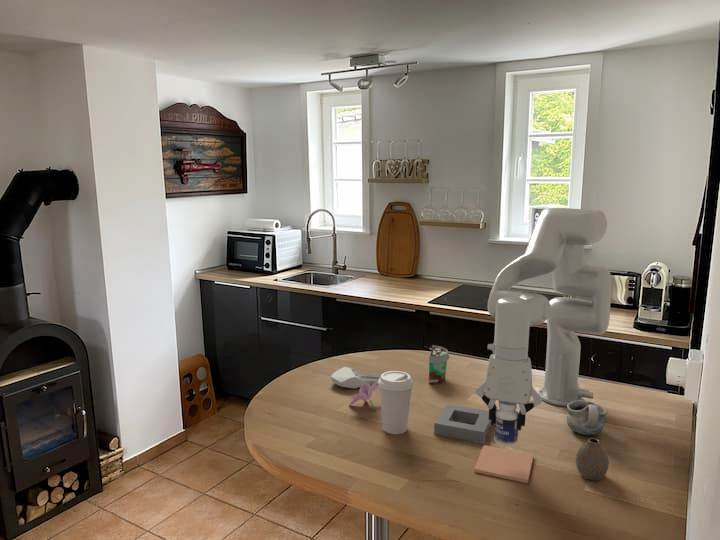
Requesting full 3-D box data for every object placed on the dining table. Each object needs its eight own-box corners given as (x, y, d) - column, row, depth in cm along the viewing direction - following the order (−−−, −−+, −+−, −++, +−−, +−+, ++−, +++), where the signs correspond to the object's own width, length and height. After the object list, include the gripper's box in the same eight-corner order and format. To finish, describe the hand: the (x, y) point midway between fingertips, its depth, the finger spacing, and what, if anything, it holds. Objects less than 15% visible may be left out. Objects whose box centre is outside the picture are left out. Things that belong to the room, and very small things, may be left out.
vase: (569, 468, 128) (572, 433, 127) (597, 467, 129) (600, 432, 127) (583, 485, 121) (586, 448, 120) (613, 483, 122) (616, 447, 120)
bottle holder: (491, 421, 152) (492, 411, 151) (483, 443, 140) (483, 432, 139) (446, 413, 157) (446, 403, 156) (434, 433, 145) (434, 423, 144)
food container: (447, 387, 175) (448, 358, 174) (428, 386, 177) (429, 356, 175) (449, 373, 187) (450, 345, 186) (431, 372, 189) (432, 344, 187)
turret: (391, 393, 177) (394, 379, 176) (332, 390, 171) (334, 376, 171) (382, 382, 186) (384, 368, 186) (326, 378, 181) (328, 365, 180)
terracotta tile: (533, 457, 133) (533, 454, 133) (527, 483, 122) (528, 480, 122) (483, 448, 137) (483, 445, 137) (474, 471, 126) (474, 468, 126)
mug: (595, 423, 151) (598, 389, 149) (616, 446, 138) (619, 409, 137) (560, 423, 151) (562, 389, 149) (578, 446, 138) (581, 409, 137)
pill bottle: (490, 442, 128) (492, 403, 126) (497, 433, 132) (499, 395, 130) (513, 448, 125) (515, 408, 123) (520, 439, 129) (522, 400, 128)
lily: (385, 403, 166) (374, 376, 167) (393, 404, 155) (381, 375, 157) (353, 418, 163) (341, 390, 165) (358, 420, 153) (346, 390, 154)
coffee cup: (388, 440, 141) (389, 385, 138) (370, 425, 149) (371, 373, 147) (419, 432, 145) (420, 379, 143) (400, 418, 154) (401, 367, 151)
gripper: (469, 351, 124) (466, 425, 128) (548, 362, 118) (543, 439, 121) (476, 342, 131) (473, 412, 134) (551, 351, 125) (546, 425, 128)
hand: (506, 424), depth 128 cm, fingers closed on pill bottle, 5 cm apart
